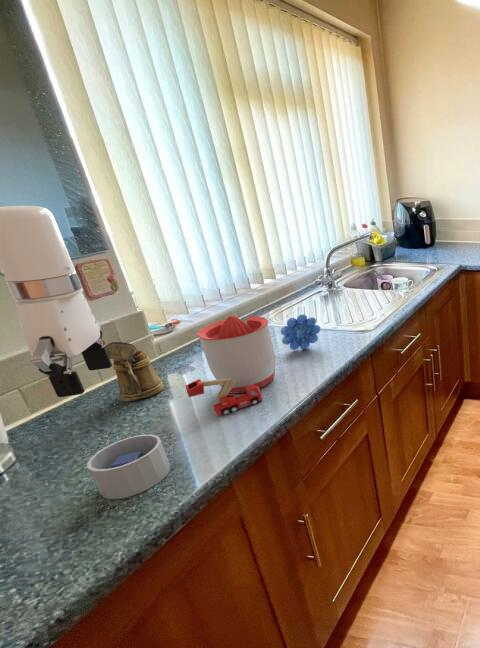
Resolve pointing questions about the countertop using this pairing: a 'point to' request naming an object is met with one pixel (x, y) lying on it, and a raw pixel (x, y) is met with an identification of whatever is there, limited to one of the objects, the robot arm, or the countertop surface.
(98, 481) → the grey bowl
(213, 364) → the citrus juicer
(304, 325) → the blue flower
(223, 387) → the toy fire truck
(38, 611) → the countertop surface
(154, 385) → the wooden mug
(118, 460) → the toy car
